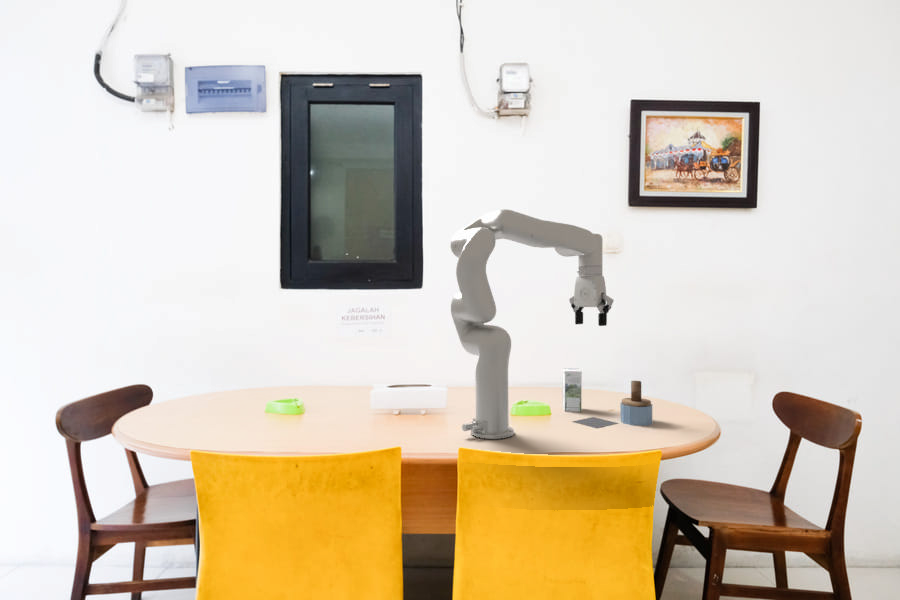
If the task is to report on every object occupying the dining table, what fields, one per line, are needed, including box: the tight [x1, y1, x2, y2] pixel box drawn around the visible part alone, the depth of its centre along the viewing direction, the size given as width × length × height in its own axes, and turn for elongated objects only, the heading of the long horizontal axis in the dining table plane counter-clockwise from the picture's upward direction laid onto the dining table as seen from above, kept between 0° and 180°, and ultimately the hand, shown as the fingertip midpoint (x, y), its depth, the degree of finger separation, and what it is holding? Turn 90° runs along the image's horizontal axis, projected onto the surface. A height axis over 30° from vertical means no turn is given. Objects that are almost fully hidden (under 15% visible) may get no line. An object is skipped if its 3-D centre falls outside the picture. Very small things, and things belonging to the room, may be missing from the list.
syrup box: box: [562, 367, 583, 413], centre depth 182 cm, size 6×6×14 cm
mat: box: [571, 416, 619, 429], centre depth 165 cm, size 10×10×1 cm
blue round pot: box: [620, 401, 653, 427], centre depth 165 cm, size 9×9×6 cm
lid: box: [621, 380, 652, 407], centre depth 165 cm, size 9×9×7 cm
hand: (590, 324), depth 172 cm, fingers open, 9 cm apart
